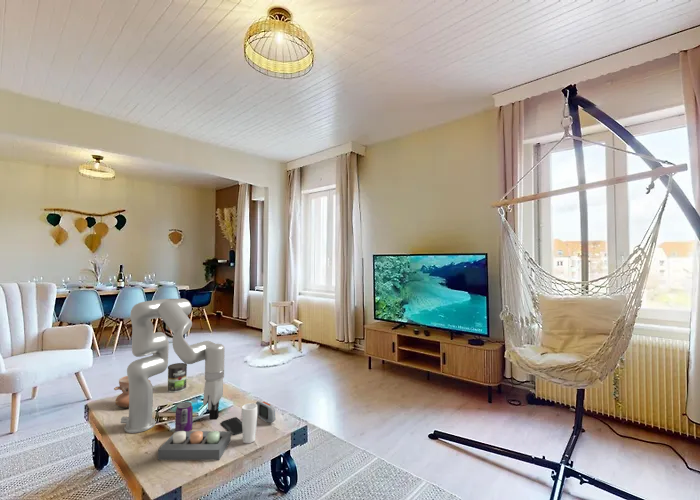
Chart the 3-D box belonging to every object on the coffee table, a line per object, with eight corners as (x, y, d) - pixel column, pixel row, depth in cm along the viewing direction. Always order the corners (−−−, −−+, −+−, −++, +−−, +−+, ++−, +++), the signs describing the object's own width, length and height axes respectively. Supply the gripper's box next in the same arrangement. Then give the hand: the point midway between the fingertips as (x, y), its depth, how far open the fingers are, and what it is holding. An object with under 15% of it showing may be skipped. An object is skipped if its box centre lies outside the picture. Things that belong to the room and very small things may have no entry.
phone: (236, 416, 170) (249, 428, 158) (236, 419, 170) (249, 430, 158) (220, 421, 164) (233, 434, 153) (220, 424, 164) (233, 436, 153)
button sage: (205, 446, 140) (205, 437, 140) (209, 439, 145) (209, 430, 145) (217, 446, 140) (217, 437, 140) (221, 439, 145) (221, 430, 145)
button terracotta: (187, 446, 140) (188, 437, 140) (193, 439, 144) (193, 430, 145) (199, 446, 140) (199, 437, 140) (204, 439, 145) (204, 430, 145)
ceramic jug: (118, 414, 172) (119, 385, 172) (108, 405, 181) (109, 378, 181) (156, 402, 186) (157, 376, 187) (144, 395, 195) (146, 370, 196)
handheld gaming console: (254, 415, 172) (254, 400, 172) (259, 413, 175) (259, 398, 175) (271, 425, 163) (272, 408, 163) (276, 423, 165) (277, 406, 165)
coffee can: (188, 389, 204) (189, 365, 204) (170, 394, 197) (170, 369, 197) (183, 384, 211) (184, 361, 212) (165, 388, 205) (165, 365, 205)
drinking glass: (238, 440, 150) (238, 406, 150) (252, 434, 154) (252, 401, 155) (245, 446, 145) (246, 411, 145) (259, 440, 150) (260, 406, 150)
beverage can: (195, 428, 159) (196, 402, 159) (184, 436, 152) (185, 409, 153) (183, 426, 161) (183, 400, 161) (171, 433, 154) (172, 407, 154)
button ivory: (170, 446, 140) (170, 436, 140) (176, 439, 144) (176, 430, 144) (182, 446, 140) (182, 437, 140) (187, 439, 144) (188, 430, 144)
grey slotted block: (158, 459, 135) (158, 449, 135) (175, 440, 149) (175, 431, 149) (219, 459, 135) (219, 449, 135) (230, 440, 149) (230, 431, 149)
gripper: (212, 368, 150) (211, 410, 150) (198, 381, 135) (197, 427, 135) (229, 368, 150) (228, 410, 150) (217, 381, 135) (216, 427, 135)
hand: (213, 418), depth 142 cm, fingers closed
